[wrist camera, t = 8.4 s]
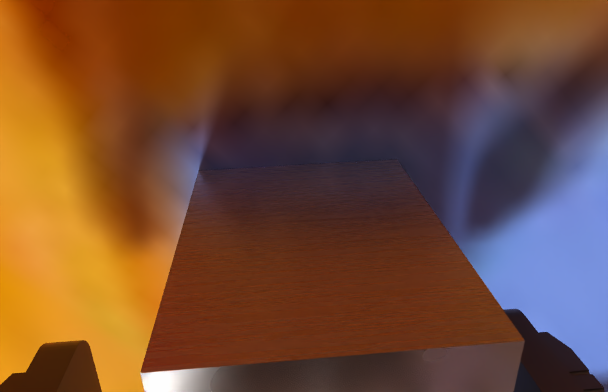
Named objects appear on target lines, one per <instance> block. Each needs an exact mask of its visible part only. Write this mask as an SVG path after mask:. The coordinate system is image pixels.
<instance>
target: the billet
mask: <svg viewBox="0 0 608 392" xmlns="http://www.w3.org/2000/svg"><path fill="white" fill-rule="evenodd" d="M524 343H525V340H524V339H523V337H522V336H521V335H520V333H519V332H518V330H517V329H516V328H515V326H514V325H513V323H512V322H511V320H510V319H509V318H508V316H507V315H506V313H505V312H504V310H503V309H502V308H501V306H500V305H499V303H498V302H497V301H496V299H495V298H494V296H493V295H492V293H491V292H490V291H489V289H488V288H487V286H486V285H485V284H484V282H483V281H482V279H481V278H480V276H479V275H478V274H477V272H476V271H475V269H474V268H473V267H472V265H471V264H470V262H469V261H468V259H467V258H466V257H465V255H464V254H463V252H462V251H461V250H460V248H459V247H458V245H457V244H456V242H455V241H454V240H453V238H452V237H451V235H450V234H449V233H448V231H447V230H446V228H445V227H444V225H443V224H442V223H441V221H440V220H439V218H438V217H437V215H436V214H435V213H434V211H433V210H432V208H431V207H430V206H429V204H428V203H427V201H426V200H425V198H424V197H423V196H422V194H421V193H420V191H419V190H418V189H417V187H416V186H415V184H414V183H413V181H412V180H411V179H410V177H409V176H408V174H407V173H406V172H405V170H404V169H403V167H402V166H401V164H400V163H399V162H398V160H397V159H389V160H372V161H355V162H337V163H320V164H303V165H286V166H268V167H251V168H234V169H216V170H199V172H198V175H197V178H196V182H195V185H194V189H193V192H192V196H191V199H190V203H189V206H188V210H187V213H186V217H185V220H184V223H183V227H182V230H181V234H180V237H179V241H178V244H177V248H176V251H175V255H174V258H173V262H172V265H171V268H170V272H169V275H168V279H167V282H166V286H165V289H164V293H163V296H162V300H161V303H160V307H159V310H158V313H157V317H156V320H155V324H154V327H153V331H152V334H151V338H150V341H149V345H148V348H147V351H146V355H145V358H144V362H143V365H142V369H141V372H140V374H141V378H142V383H143V387H144V391H145V392H514V387H515V383H516V378H517V374H518V369H519V365H520V360H521V356H522V352H523V347H524Z"/></svg>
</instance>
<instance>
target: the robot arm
mask: <svg viewBox="0 0 608 392" xmlns="http://www.w3.org/2000/svg"><path fill="white" fill-rule="evenodd" d="M504 312H505V313H506V315H507V316H508V318H509V319H510V320H511V322H512V323H513V325H514V326H515V328H516V329H517V330H518V332H519V333H520V335H521V336H522V337H523V339H524V340H525V343H524V347H523V352H522V356H521V360H520V365H519V369H518V374H517V378H516V383H515V387H514V392H604V387H603V386H602V385H601V384H600V383H599V381H598V380H597V379H596V378H595V377H594V376H593V374H590V373H589V370H588V368H587V367H586V366H585V365H584V364H583V362H582V361H581V360H580V359H579V358H578V356H577V355H576V354H575V353H574V352H573V350H572V349H571V348H569V347H568V346H566V345H565V344H563V343H562V342H561V341H559V340H558V339H556V338H555V337H553V336H552V335H551V334H549V333H548V332H540V333H538V332H537V330H536V329H535V328H534V327H533V325H532V324H531V323H530V322H529V320H528V319H527V318H526V316H525V315H524V314H523V313H522V312H521V311H520V310H518V309H507V310H504ZM0 392H102V391H101V387H100V383H99V379H98V376H97V372H96V368H95V364H94V361H93V357H92V353H91V349H90V346H89V344H88V343H87V342H86V341H84V340H82V341H69V342H56V343H45V344H43V345H42V346H41V347H40V348H39V350H38V351H37V353H36V355H35V357H34V359H33V360H32V362H31V364H30V366H29V368H28V369H27V371H26V373H13V374H12V375H11V376H9V377H8V378H7V379H6V380H5V381H4V382H3V383H2V384H1V385H0Z"/></svg>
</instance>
